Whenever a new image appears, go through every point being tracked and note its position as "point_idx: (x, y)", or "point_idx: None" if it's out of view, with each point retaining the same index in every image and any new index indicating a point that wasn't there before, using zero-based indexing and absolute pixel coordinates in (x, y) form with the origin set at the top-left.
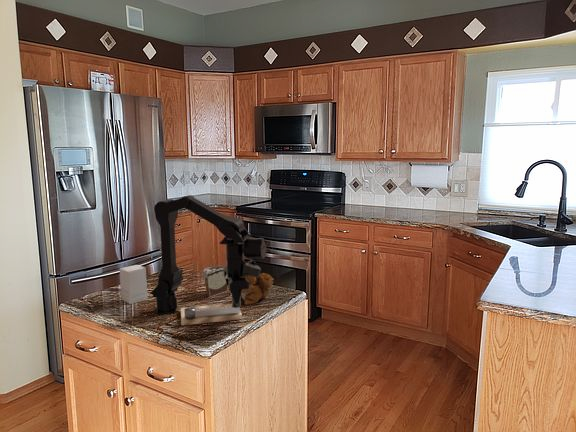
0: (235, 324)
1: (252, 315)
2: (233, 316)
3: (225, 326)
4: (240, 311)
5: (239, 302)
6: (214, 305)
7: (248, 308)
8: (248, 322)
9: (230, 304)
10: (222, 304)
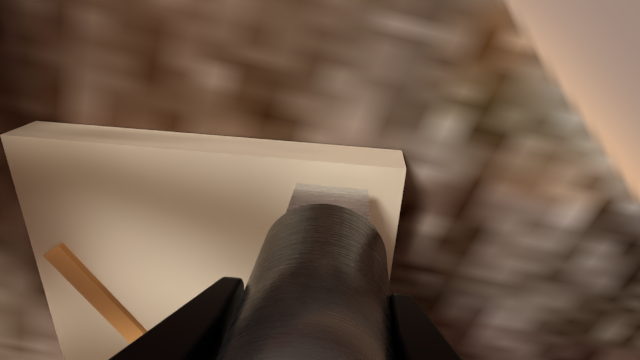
0: (507, 237)
1: (338, 10)
2: (392, 250)
3: (506, 316)
4: (295, 162)
5: (380, 276)
6: (74, 343)
7: (101, 7)
8: (526, 107)
9: (56, 214)
10: (51, 281)
